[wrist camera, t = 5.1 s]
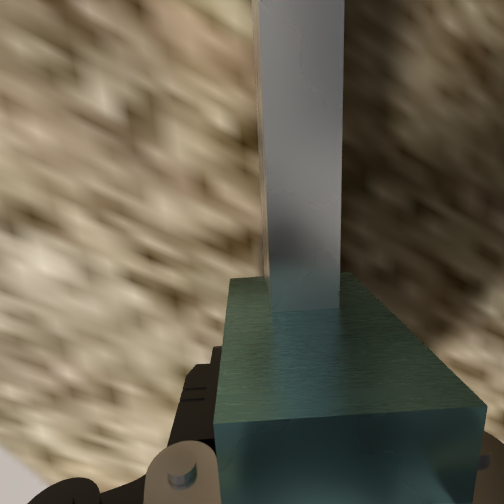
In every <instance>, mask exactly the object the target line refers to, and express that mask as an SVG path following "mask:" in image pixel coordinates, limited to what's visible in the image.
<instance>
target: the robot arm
mask: <svg viewBox="0 0 504 504" xmlns="http://www.w3.org/2000/svg"><path fill="white" fill-rule="evenodd" d="M221 353H222V346H216V347H213V351H212V357H211V363H210V364H197V365H195V367H194V368H193V369H192V370H191V371H190V372H189V373H188V374H187V376H186V379H185V383H184V386H183V391H182V394H181V397H180V402H179V405H178V408H177V412H176V416H175V419H174V423H173V427H172V430H171V434H170V438H169V441H168V445H167V448H165V449H164V450H163V451H161V452H160V453H159V454H158V455H157V456H156V457H155V458H154V459H153V461H152V462H151V464H150V465H149V467H148V470H147V473H146V474H145V475H144V476H142V477H141V478H139V479H137V480H135V481H133V482H130V483H128V484H125V485H123V486H120V487H117V488H114V489H112V490H109V491H106V492H103V493H101V494H100V492H99V488H98V487H97V485H96V484H95V483H94V482H93V481H92V480H90V479H87V478H78V477H77V478H70V479H66V480H63V481H60V482H58V483H56V484H54V485H52V486H50V487H48V488H46V489H45V490H43V491H42V492H40V493H39V494H38V495H37V496H35V497H34V498H33V499H32V500H31V501H30V502H29V503H28V504H221V495H220V486H219V476H218V466H217V456H216V446H215V436H214V427H213V422H214V413H215V404H216V396H217V387H218V379H219V370H220V361H221ZM472 504H504V444H503V443H502V442H501V441H499V440H498V439H497V438H495V437H494V436H492V435H491V434H489V433H487V432H485V431H484V432H483V438H482V445H481V451H480V458H479V464H478V470H477V477H476V483H475V490H474V496H473V502H472Z"/></svg>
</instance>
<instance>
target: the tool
mask: <svg viewBox="0 0 504 504" xmlns="http://www.w3.org/2000/svg"><path fill="white" fill-rule="evenodd" d="M252 21H253V42H254V64H255V85H256V107H257V128H258V150H259V171H260V193H261V214H262V236H263V257H264V277H250V278H233V279H230V284H229V293H228V301H227V310H226V318H225V327H224V336H223V344H222V353H221V361H220V370H219V379H218V387H217V396H216V404H215V413H214V422H213V427H214V436H215V446H216V456H217V466H218V476H219V486H220V495H221V504H472V502H473V496H474V490H475V483H476V477H477V470H478V464H479V458H480V451H481V445H482V438H483V432H484V426H485V419H486V413H487V405H486V404H485V403H484V402H483V401H482V400H481V399H480V398H479V397H478V396H477V395H476V394H475V393H474V392H473V391H472V390H471V389H470V388H469V387H468V386H467V385H466V384H465V383H464V382H463V381H461V380H460V379H459V378H458V377H457V376H456V375H455V374H454V373H453V372H452V371H451V370H450V369H449V368H448V367H447V366H446V365H445V364H444V363H443V362H442V361H441V360H440V359H439V358H438V357H437V356H436V355H435V354H434V353H433V352H432V351H431V350H430V349H429V348H428V347H427V346H426V345H425V344H424V343H423V342H422V341H420V340H419V339H418V338H417V337H416V336H415V335H414V334H413V333H412V332H411V331H410V330H409V329H408V328H407V327H406V326H405V325H404V324H403V323H402V322H401V321H400V320H399V319H398V318H397V317H396V316H395V315H394V314H393V313H392V312H391V311H390V310H389V309H388V308H387V307H386V306H385V305H384V304H383V303H382V302H380V301H379V300H378V299H377V298H376V297H375V296H374V295H373V294H372V293H371V292H370V291H369V290H368V289H367V288H366V287H365V286H364V285H363V284H362V283H361V282H360V281H359V280H358V279H357V278H356V277H355V276H354V275H353V274H352V273H351V272H340V242H341V180H342V119H343V58H344V0H252Z"/></svg>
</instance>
